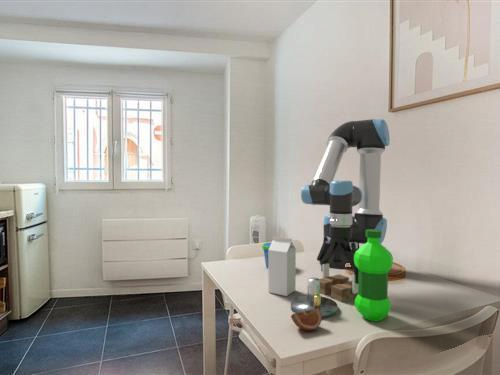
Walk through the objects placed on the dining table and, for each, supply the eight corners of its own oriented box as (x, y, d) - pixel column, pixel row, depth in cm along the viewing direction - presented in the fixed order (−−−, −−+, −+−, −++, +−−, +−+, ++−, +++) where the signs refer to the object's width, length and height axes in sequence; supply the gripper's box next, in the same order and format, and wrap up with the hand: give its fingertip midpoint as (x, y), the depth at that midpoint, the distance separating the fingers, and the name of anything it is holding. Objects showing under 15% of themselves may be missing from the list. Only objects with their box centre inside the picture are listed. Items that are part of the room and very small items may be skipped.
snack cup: (258, 263, 154) (258, 241, 154) (280, 262, 156) (280, 240, 156) (267, 273, 139) (267, 248, 138) (291, 271, 141) (291, 247, 141)
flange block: (339, 284, 124) (339, 274, 124) (366, 294, 114) (366, 283, 114) (315, 291, 117) (315, 279, 117) (341, 302, 107) (341, 289, 107)
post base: (314, 296, 112) (314, 270, 112) (347, 311, 100) (347, 281, 100) (281, 305, 104) (281, 277, 104) (312, 322, 93) (312, 290, 92)
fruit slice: (298, 337, 84) (299, 317, 84) (285, 326, 91) (285, 308, 90) (326, 330, 88) (326, 312, 88) (311, 320, 94) (311, 303, 94)
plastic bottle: (364, 307, 103) (365, 226, 102) (398, 318, 95) (400, 230, 94) (346, 316, 97) (347, 230, 96) (381, 328, 89) (382, 235, 88)
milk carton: (286, 296, 112) (286, 240, 111) (268, 292, 116) (268, 238, 115) (295, 290, 118) (295, 237, 117) (277, 286, 122) (277, 235, 121)
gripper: (307, 222, 123) (307, 279, 124) (363, 231, 102) (362, 300, 103) (322, 220, 127) (321, 276, 128) (379, 229, 106) (378, 295, 107)
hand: (340, 287), depth 115 cm, fingers open, 13 cm apart
